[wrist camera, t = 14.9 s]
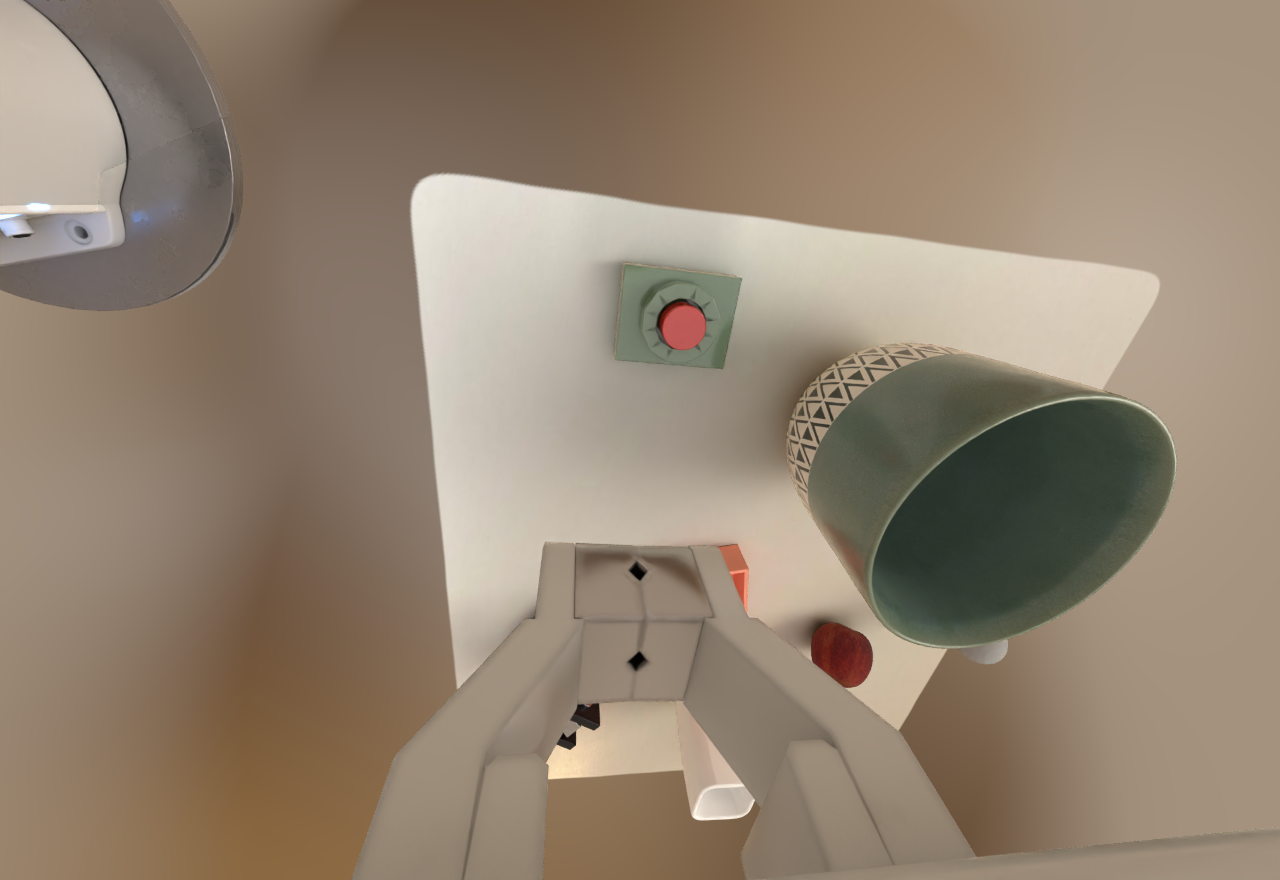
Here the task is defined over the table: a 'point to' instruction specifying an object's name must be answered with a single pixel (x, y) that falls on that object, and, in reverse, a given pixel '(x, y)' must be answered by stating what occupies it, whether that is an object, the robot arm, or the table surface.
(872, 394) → the planter
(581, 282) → the table surface
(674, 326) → the button
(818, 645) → the apple
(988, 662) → the light bulb
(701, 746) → the cup
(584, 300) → the table surface
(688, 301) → the control block
